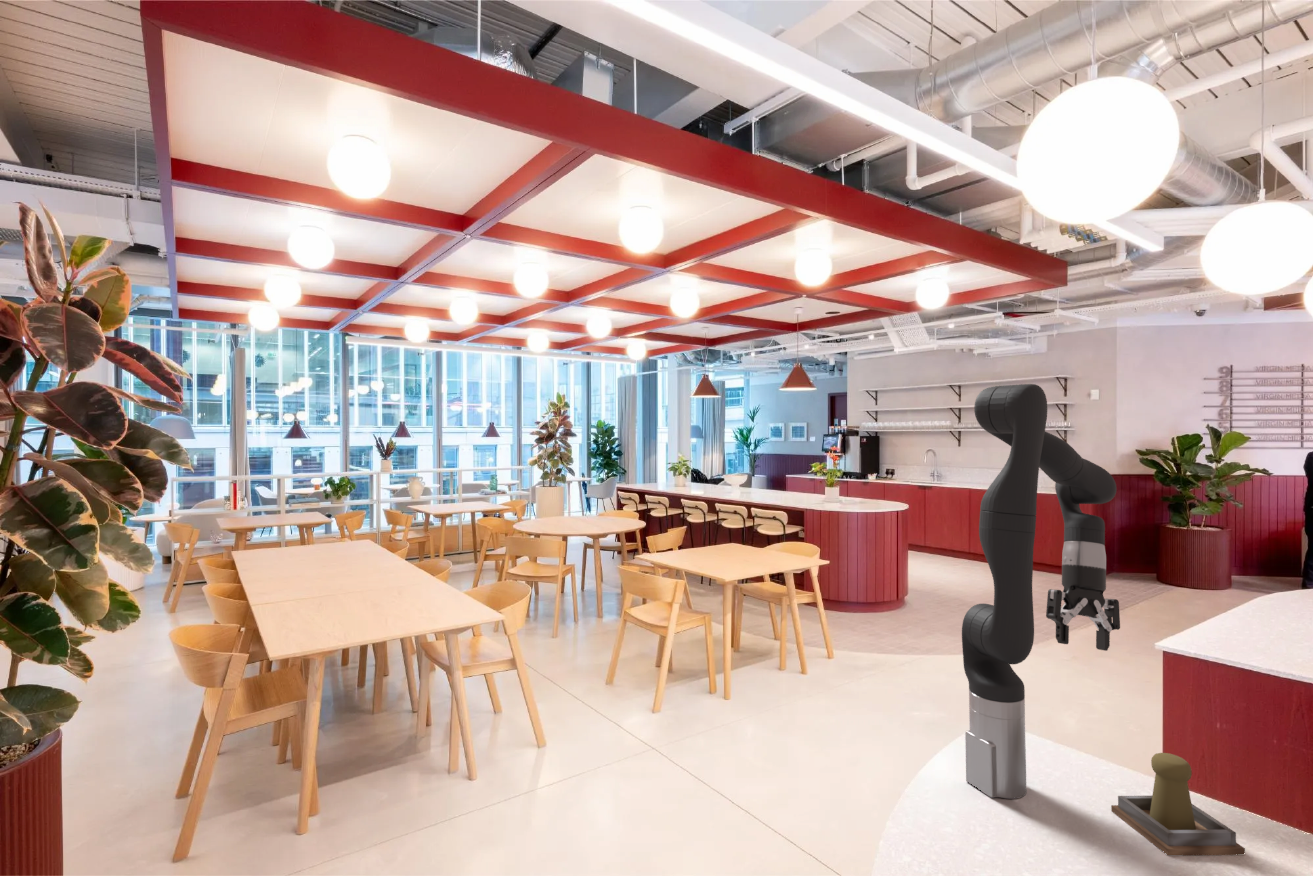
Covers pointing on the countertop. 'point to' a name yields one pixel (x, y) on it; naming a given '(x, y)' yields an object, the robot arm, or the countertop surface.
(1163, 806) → the cork
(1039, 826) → the countertop surface
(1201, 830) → the plate
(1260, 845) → the countertop surface
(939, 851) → the countertop surface
